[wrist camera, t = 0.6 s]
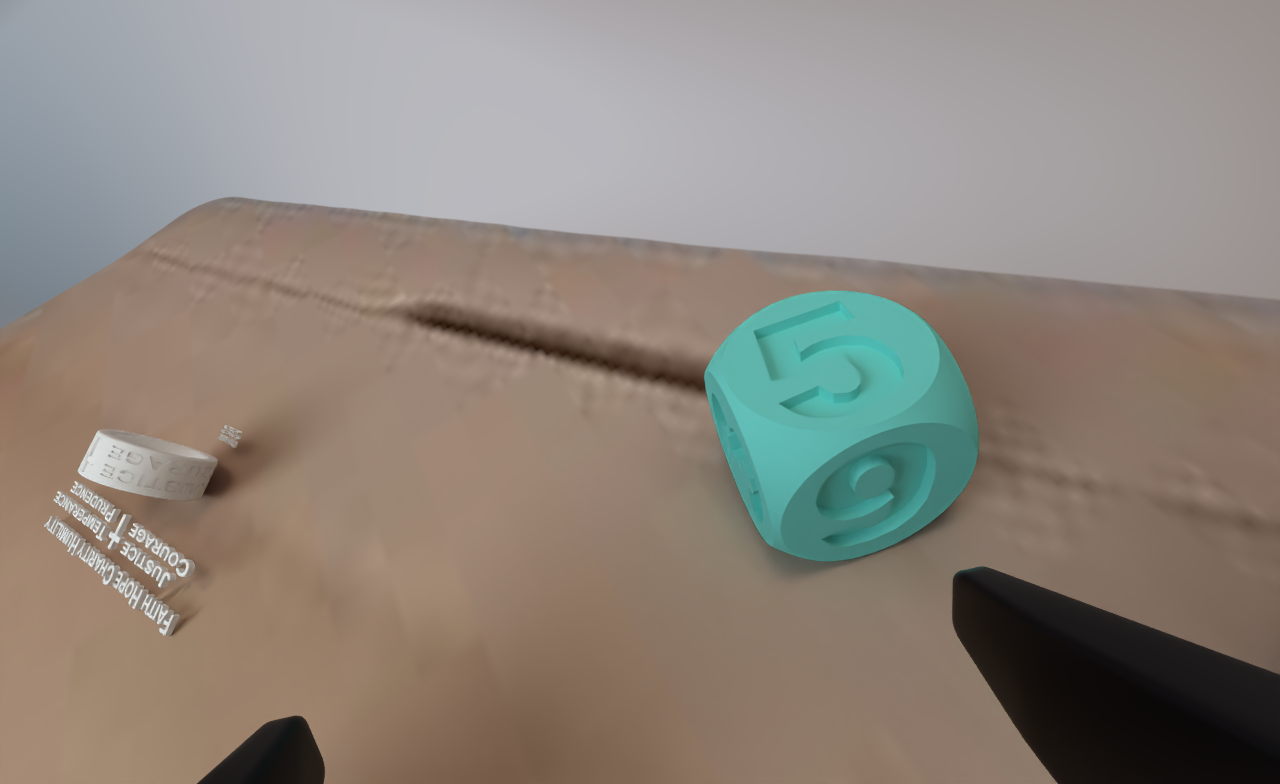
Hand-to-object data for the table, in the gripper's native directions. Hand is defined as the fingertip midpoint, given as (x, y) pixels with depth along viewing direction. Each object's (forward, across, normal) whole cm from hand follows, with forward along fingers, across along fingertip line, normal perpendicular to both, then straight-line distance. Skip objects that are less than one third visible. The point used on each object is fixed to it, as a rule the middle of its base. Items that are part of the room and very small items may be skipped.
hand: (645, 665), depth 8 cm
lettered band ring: (+30, +27, +8) cm, 41 cm away
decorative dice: (+17, -10, +8) cm, 21 cm away
